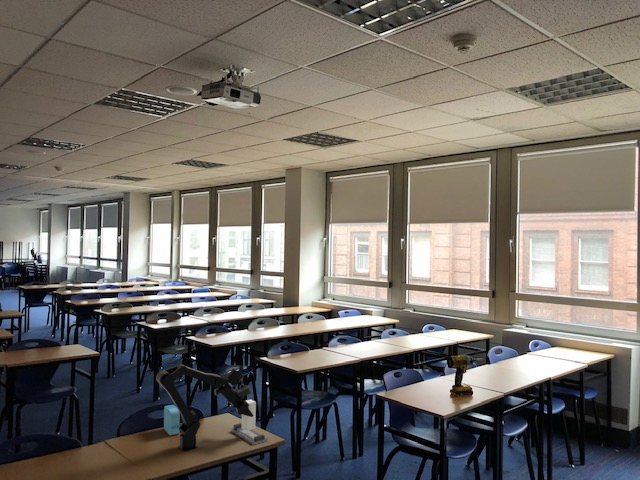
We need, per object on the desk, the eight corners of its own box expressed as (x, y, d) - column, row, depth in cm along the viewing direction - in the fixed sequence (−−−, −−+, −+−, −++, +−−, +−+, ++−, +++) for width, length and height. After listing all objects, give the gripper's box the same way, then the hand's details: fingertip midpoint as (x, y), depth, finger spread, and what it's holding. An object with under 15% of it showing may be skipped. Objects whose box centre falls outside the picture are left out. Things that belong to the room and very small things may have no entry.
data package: (179, 434, 244) (179, 410, 245) (170, 436, 242) (170, 411, 242) (172, 427, 255) (172, 403, 255) (163, 429, 252) (164, 405, 252)
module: (246, 430, 239) (246, 403, 239) (241, 427, 243) (241, 401, 243) (255, 428, 242) (255, 401, 243) (250, 425, 246) (250, 399, 247)
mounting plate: (253, 445, 232) (253, 438, 232) (230, 431, 249) (230, 425, 249) (267, 441, 237) (267, 434, 237) (244, 428, 254) (244, 422, 254)
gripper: (245, 385, 233) (267, 407, 237) (237, 376, 251) (258, 396, 254) (228, 404, 230) (251, 425, 234) (221, 393, 248) (243, 413, 251)
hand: (251, 414), depth 243 cm, fingers closed on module, 6 cm apart
